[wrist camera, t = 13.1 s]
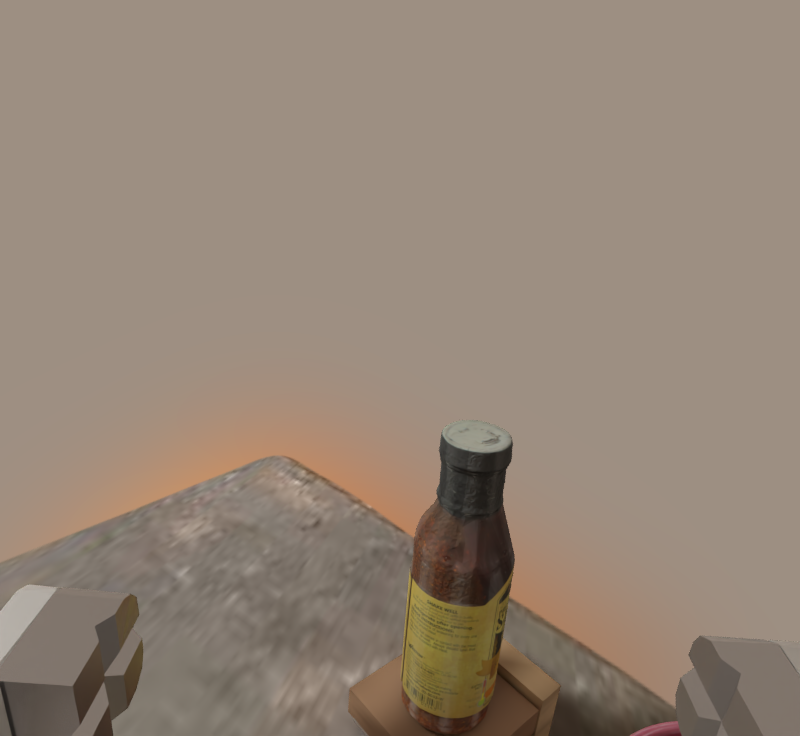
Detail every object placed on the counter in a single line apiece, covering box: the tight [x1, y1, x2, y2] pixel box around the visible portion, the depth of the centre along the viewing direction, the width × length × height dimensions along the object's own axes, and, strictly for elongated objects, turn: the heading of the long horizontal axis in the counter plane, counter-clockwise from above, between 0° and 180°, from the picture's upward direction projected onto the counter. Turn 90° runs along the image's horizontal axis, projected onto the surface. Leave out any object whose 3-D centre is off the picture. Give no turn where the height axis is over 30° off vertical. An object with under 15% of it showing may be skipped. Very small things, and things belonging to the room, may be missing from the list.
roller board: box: [348, 638, 561, 736], centre depth 44 cm, size 9×11×5 cm
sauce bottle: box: [400, 420, 515, 735], centre depth 39 cm, size 7×6×20 cm
